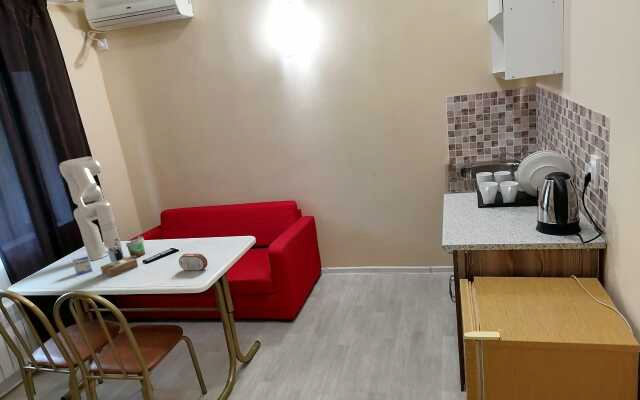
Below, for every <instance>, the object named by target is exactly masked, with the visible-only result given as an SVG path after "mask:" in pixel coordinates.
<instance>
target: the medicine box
mask: <svg viewBox="0 0 640 400" xmlns="http://www.w3.org/2000/svg"><path fill="white" fill-rule="evenodd" d="M72 264H73V268H74V270H75V274H76V276H79V275H83V274H87V273H91V272H93V266H92V263H91V261H90V259H89V255H87V254H86V255H81V256H77V257H74V258H72Z"/></svg>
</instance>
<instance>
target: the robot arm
mask: <svg viewBox="0 0 640 400" xmlns="http://www.w3.org/2000/svg"><path fill="white" fill-rule="evenodd" d="M58 167H59V171H60V173H61V175H62V177H63V178H64V180H65V182H66V183H67V185H68V189H69V192H70V193H69V194H70V197H71V198H72V202H73V204H75V205H77V208H75V209H74V210H73V217H74V219H75V221H76V223H77V226H78V228H79V231H80V234H81V237H82V241H83V244H84V248H85V251H86V255H89V259H90V262H91V261H97V260H99V259H102V258H105V257H106V256H109V253H108V251H109V250H111V249H114V251H115V256H116V260H117V261H118V260H121V259H123V257H122V253H121V249H122V242H121V239H120V235H119V233H118V229H117V223H116V219H115V216H114V213H113V208H112V205H111V203H110V202H109V201H108V200H106V199H104V195H103V191H102V188H101V187H100V186H99V185H97V182H96V180H95V178H94V176H96V175H97V176H98V175H100V174H102V166H101V164H100V162H99V161H98V160H97V159H96V158H94V157H92V156H84V157H79V158H73V159H69V160H65V161H62V162H60V163H59V166H58ZM96 220H97V221H98V224H99V227H98V225H97V224H96V223H94V222H93V221H96ZM99 228H100V229H99ZM100 231H101V233H100ZM105 248H107V249H108V250H107V251H106V250H105ZM116 248H118V249H117V250H116Z"/></svg>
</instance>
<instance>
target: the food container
mask: <svg viewBox="0 0 640 400" xmlns="http://www.w3.org/2000/svg"><path fill="white" fill-rule="evenodd" d="M144 241H145V239H144V237H143V236H142V235H138V236H137V238H136V239H132V240H131V241H129V242H126V243H125V246H126V247H127V249H128V252H129V253H128V254H129V255H130V258H132V259H137V258H142V257H143V256H145V255H146V252H145V246H144ZM141 256H142V257H141Z"/></svg>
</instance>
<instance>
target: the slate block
mask: <svg viewBox="0 0 640 400" xmlns="http://www.w3.org/2000/svg"><path fill="white" fill-rule="evenodd" d="M117 249H118V248H116V250H117ZM107 252H108V257H109V260H110V263H111V262H115V263H116V262H118V261H121V260H123V259H124V252H123V249H122V248H121V253H122V257H123V259H121V260H118V261H117V260H116V256H115V251H114V249H111V250H109V249H108V250H107Z"/></svg>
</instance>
